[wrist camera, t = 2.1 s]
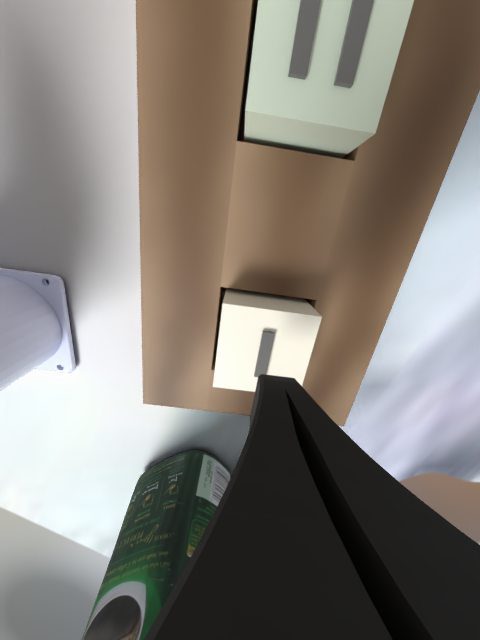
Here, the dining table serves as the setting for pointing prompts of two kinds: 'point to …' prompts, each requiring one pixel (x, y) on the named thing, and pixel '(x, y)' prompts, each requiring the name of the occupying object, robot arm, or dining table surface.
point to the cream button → (263, 338)
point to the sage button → (321, 72)
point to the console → (281, 196)
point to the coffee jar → (156, 543)
